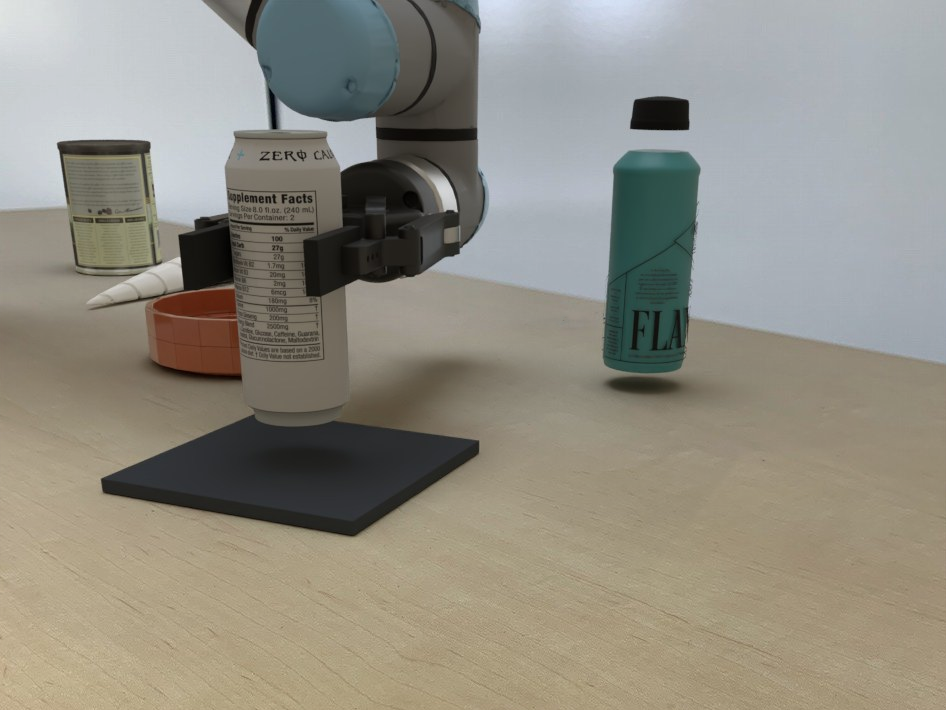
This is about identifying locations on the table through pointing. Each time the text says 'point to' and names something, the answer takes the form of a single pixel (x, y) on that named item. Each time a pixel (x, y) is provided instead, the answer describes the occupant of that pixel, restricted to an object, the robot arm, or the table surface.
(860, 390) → the table surface
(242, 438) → the mat
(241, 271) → the energy drink can
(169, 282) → the unicorn horn
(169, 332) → the bowl
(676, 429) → the table surface
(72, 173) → the coffee can
